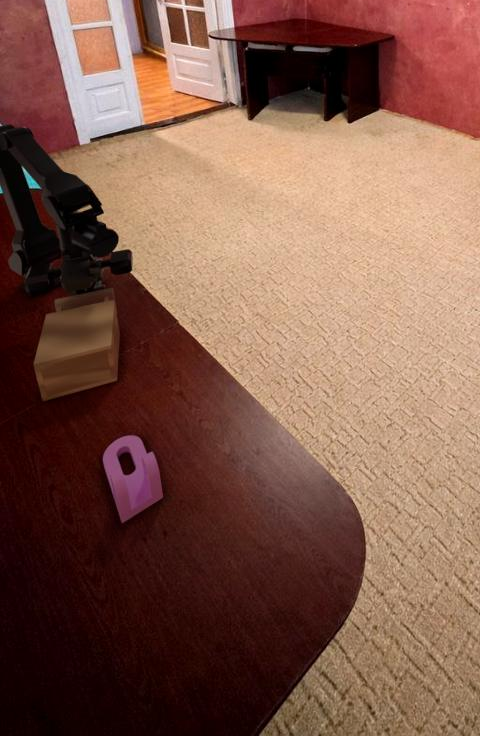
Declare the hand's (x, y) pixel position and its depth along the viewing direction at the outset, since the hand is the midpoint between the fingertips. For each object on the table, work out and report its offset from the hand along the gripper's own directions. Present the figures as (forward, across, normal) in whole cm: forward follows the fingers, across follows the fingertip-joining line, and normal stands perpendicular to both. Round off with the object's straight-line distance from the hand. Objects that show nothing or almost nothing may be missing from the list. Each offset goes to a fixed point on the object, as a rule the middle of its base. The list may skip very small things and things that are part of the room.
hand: (88, 301), depth 105 cm
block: (+4, -1, +10) cm, 11 cm away
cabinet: (+4, 0, -14) cm, 15 cm away
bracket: (+4, +9, -42) cm, 43 cm away
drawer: (+3, 0, -6) cm, 7 cm away
